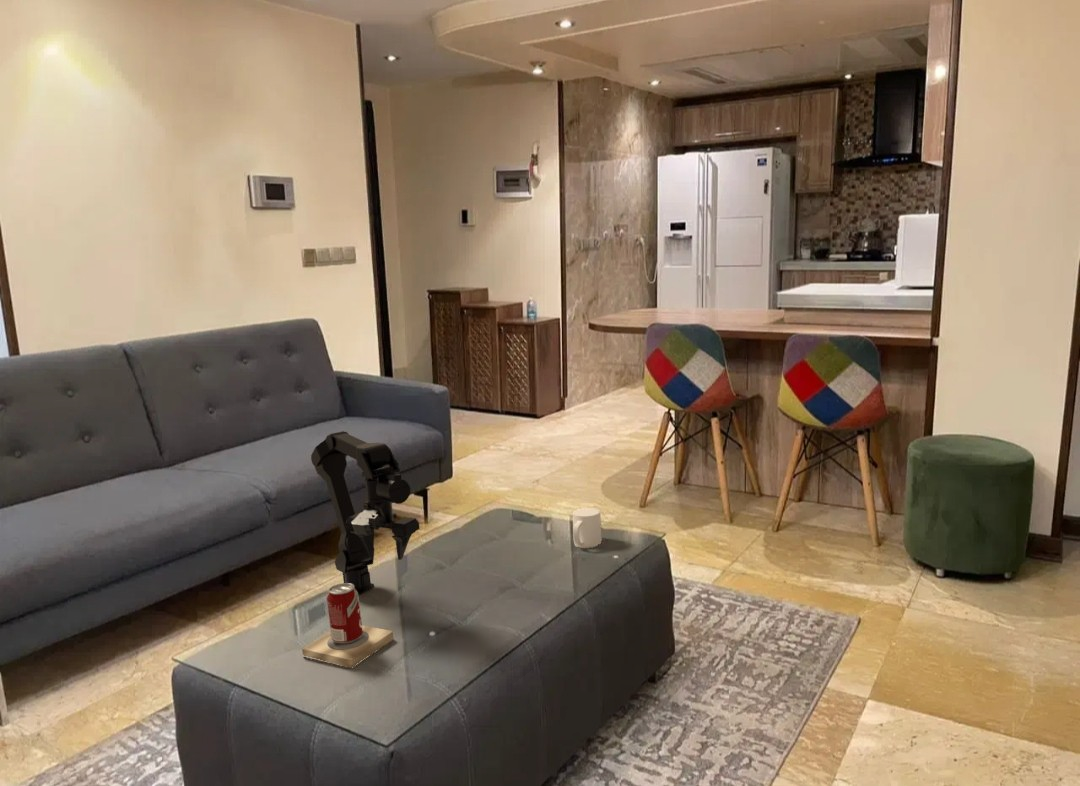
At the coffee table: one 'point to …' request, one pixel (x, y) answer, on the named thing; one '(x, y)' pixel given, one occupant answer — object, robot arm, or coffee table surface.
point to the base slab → (349, 647)
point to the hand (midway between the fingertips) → (385, 557)
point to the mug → (586, 527)
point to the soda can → (344, 613)
